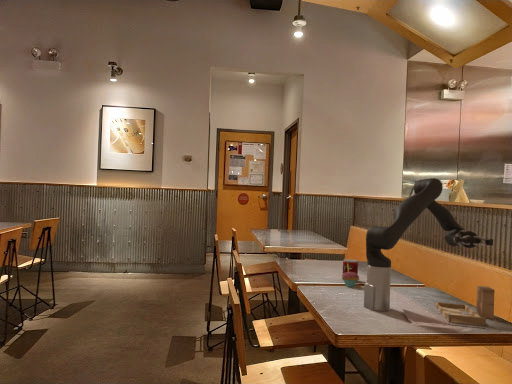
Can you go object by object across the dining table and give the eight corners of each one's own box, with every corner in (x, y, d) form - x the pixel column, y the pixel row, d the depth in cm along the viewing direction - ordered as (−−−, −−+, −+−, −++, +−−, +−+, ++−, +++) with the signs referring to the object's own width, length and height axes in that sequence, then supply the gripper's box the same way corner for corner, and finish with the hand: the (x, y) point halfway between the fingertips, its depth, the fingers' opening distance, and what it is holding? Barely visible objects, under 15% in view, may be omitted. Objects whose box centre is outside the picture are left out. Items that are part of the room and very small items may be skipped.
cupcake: (346, 288, 191) (347, 263, 191) (338, 284, 199) (339, 260, 199) (362, 287, 193) (362, 263, 193) (353, 283, 201) (354, 260, 201)
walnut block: (476, 316, 151) (477, 285, 151) (487, 317, 150) (488, 286, 150) (481, 320, 145) (482, 289, 145) (493, 322, 144) (494, 290, 144)
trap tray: (434, 308, 160) (434, 299, 160) (466, 311, 157) (466, 302, 157) (448, 325, 138) (448, 314, 138) (485, 329, 135) (485, 318, 136)
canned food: (339, 279, 211) (340, 259, 211) (351, 278, 215) (351, 258, 215) (348, 282, 204) (349, 261, 205) (360, 281, 208) (361, 261, 208)
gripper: (449, 229, 175) (460, 231, 160) (484, 231, 172) (498, 234, 156) (448, 245, 175) (459, 249, 159) (483, 248, 172) (497, 252, 156)
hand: (478, 242), depth 158 cm, fingers open, 8 cm apart
